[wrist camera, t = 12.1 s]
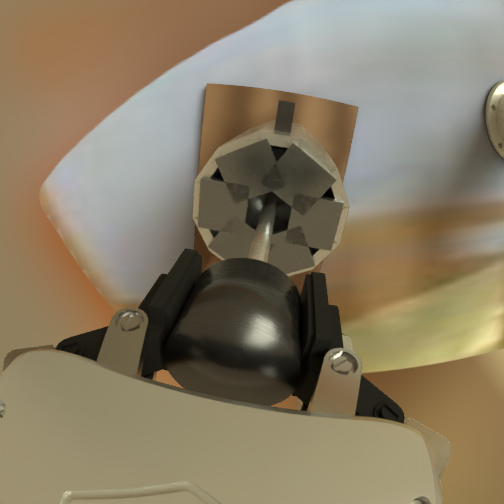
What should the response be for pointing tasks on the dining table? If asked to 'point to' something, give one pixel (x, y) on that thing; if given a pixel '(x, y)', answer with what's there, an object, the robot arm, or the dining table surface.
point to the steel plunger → (242, 321)
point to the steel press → (282, 184)
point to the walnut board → (263, 110)
